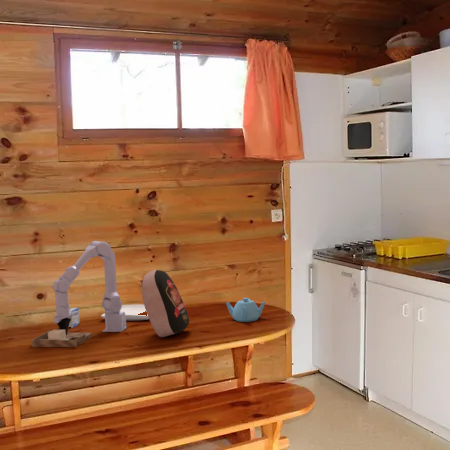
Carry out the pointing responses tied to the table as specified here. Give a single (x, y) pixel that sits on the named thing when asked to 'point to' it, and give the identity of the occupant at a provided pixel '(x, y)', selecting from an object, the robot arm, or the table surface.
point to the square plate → (133, 312)
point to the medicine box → (74, 317)
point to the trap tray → (70, 341)
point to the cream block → (57, 335)
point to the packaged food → (163, 304)
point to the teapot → (245, 310)
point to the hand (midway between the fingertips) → (64, 334)
